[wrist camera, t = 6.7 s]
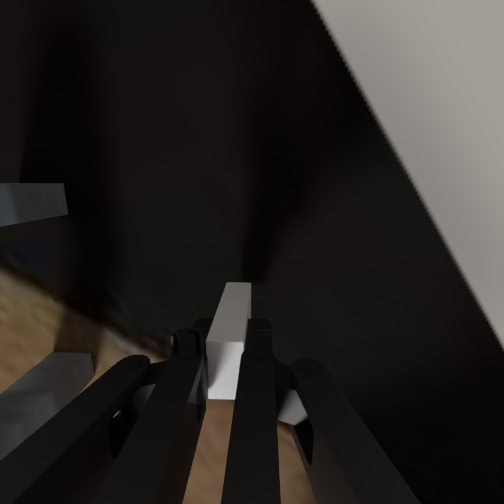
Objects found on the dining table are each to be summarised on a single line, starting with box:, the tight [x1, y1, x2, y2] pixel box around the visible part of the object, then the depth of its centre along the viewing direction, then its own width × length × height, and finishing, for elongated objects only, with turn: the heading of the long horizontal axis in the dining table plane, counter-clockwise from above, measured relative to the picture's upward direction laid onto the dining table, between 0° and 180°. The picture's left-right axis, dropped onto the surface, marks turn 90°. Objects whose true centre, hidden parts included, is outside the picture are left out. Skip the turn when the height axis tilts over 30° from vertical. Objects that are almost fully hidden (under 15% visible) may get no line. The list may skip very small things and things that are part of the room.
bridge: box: [0, 183, 95, 461], centre depth 15 cm, size 3×14×9 cm, turn 0°
